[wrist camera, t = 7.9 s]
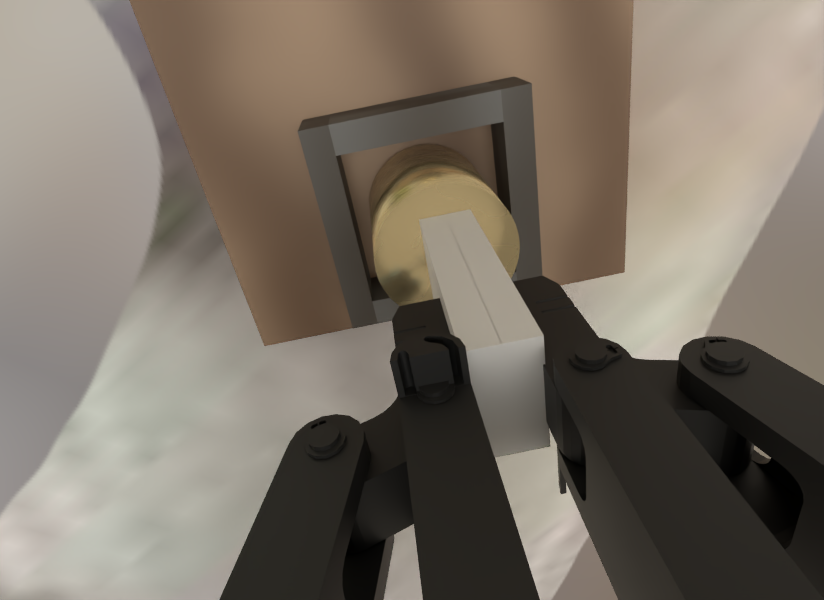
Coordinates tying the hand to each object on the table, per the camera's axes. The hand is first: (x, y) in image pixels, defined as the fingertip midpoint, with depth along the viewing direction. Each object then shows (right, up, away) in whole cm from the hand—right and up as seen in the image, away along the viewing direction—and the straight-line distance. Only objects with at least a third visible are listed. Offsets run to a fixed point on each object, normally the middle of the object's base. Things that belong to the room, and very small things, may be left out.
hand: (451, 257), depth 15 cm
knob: (-1, +3, +5) cm, 5 cm away
